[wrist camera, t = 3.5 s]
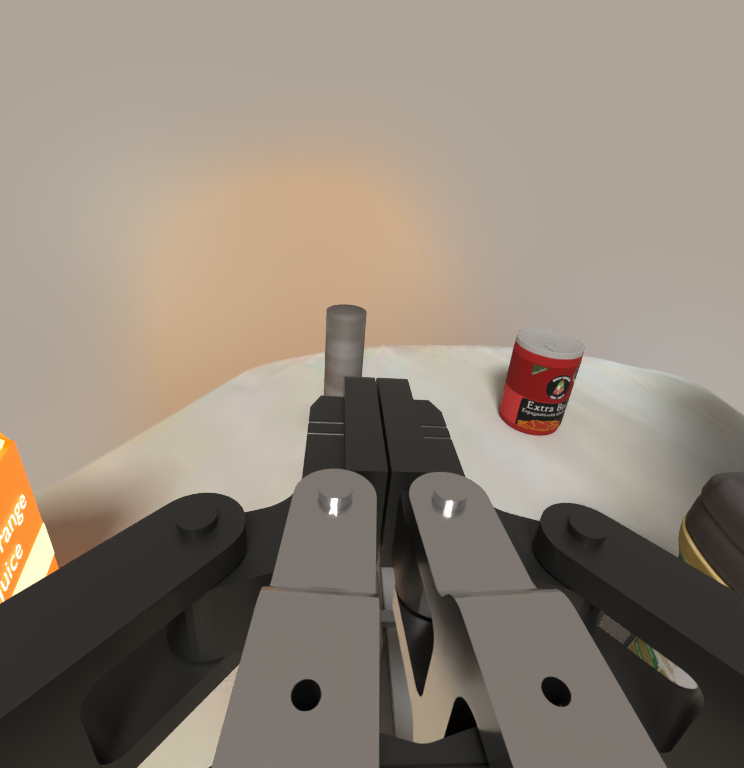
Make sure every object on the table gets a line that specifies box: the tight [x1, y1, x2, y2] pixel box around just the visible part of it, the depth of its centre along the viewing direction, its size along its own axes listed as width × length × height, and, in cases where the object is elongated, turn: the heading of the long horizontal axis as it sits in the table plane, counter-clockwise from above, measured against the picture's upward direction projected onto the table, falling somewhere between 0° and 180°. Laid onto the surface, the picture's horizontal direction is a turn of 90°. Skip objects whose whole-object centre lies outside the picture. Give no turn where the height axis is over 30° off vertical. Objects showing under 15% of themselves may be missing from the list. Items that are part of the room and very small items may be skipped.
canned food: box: [500, 328, 584, 435], centre depth 56 cm, size 8×8×11 cm
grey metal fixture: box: [324, 305, 413, 742], centre depth 33 cm, size 25×13×18 cm, turn 3°
